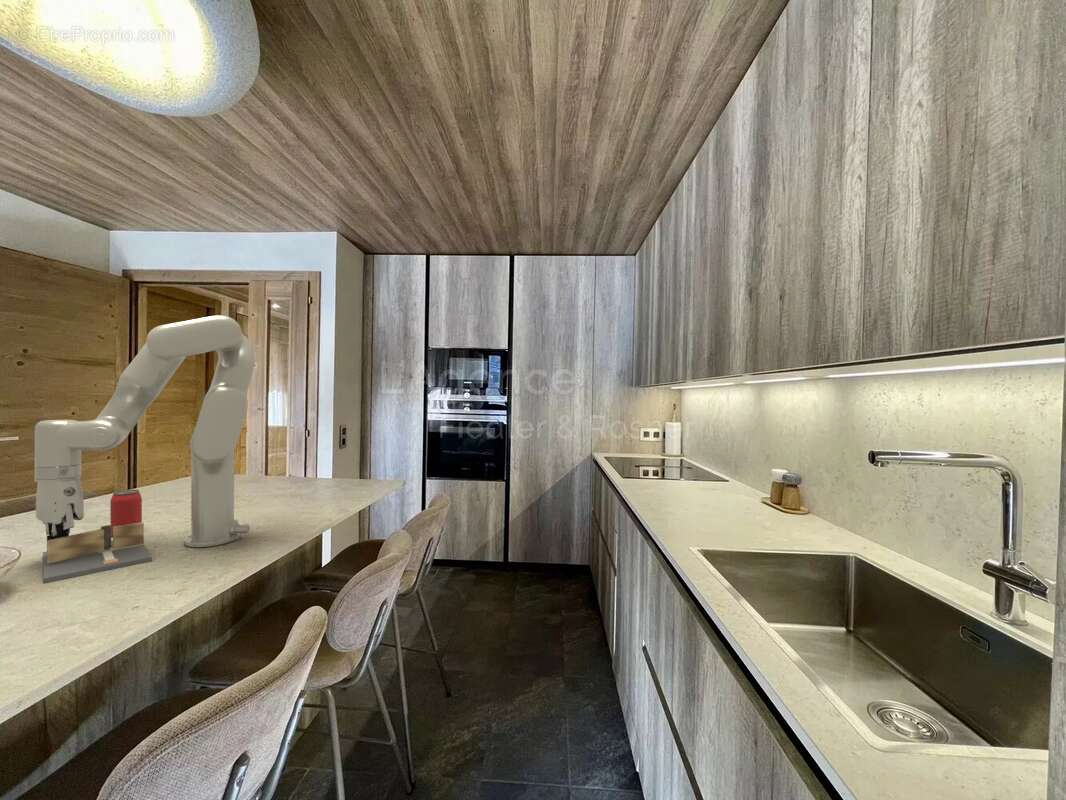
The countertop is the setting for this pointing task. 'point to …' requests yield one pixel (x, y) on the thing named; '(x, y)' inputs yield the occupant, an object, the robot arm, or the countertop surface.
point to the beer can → (125, 508)
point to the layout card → (94, 562)
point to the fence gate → (78, 544)
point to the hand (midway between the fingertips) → (57, 551)
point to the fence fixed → (128, 535)
